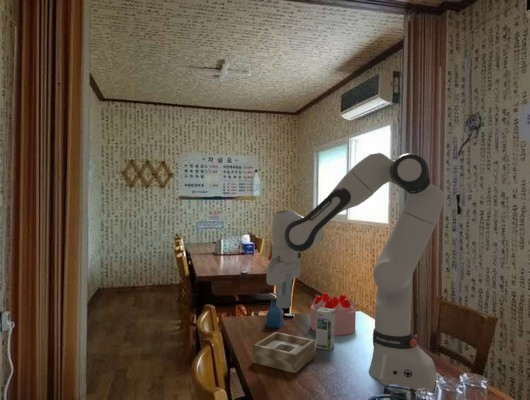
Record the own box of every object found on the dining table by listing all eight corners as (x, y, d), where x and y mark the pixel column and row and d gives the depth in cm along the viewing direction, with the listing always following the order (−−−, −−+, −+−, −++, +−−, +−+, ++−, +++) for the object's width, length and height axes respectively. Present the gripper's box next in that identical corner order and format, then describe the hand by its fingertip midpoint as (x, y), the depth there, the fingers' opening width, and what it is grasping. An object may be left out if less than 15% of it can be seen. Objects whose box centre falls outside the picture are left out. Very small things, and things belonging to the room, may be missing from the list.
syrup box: (315, 348, 149) (316, 310, 149) (320, 343, 154) (321, 306, 154) (329, 351, 146) (330, 312, 146) (334, 346, 151) (335, 308, 151)
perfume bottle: (280, 327, 172) (280, 300, 172) (266, 326, 173) (266, 299, 173) (282, 323, 178) (282, 297, 178) (269, 322, 179) (269, 296, 179)
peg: (291, 306, 141) (291, 272, 141) (286, 308, 137) (286, 274, 137) (281, 304, 143) (281, 271, 143) (276, 307, 139) (276, 273, 139)
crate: (314, 356, 140) (314, 340, 140) (295, 373, 126) (295, 354, 126) (274, 347, 148) (275, 331, 148) (253, 362, 134) (253, 344, 134)
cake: (308, 321, 183) (309, 290, 183) (351, 322, 182) (352, 292, 182) (312, 335, 163) (312, 301, 163) (360, 337, 162) (360, 302, 162)
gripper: (278, 259, 130) (278, 300, 129) (303, 252, 147) (303, 289, 147) (262, 257, 133) (261, 298, 133) (288, 251, 151) (288, 287, 150)
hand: (284, 293), depth 140 cm, fingers closed on peg, 4 cm apart
